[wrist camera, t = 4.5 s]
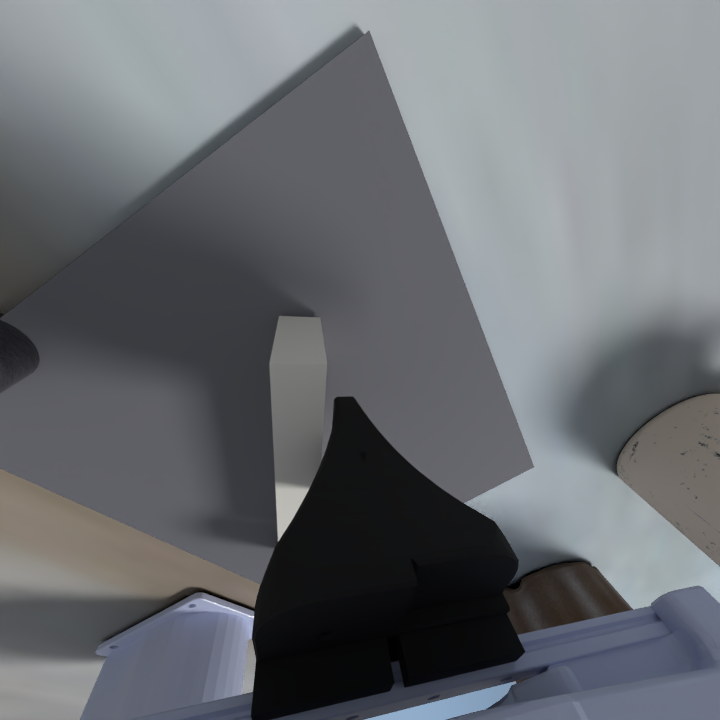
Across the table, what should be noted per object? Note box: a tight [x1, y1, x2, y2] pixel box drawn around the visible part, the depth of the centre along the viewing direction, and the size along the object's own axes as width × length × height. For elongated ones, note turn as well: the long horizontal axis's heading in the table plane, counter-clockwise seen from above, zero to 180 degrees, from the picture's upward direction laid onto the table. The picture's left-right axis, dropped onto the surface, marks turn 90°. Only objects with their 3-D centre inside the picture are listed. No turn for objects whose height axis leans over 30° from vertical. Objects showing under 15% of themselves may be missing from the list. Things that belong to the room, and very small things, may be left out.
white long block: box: [269, 316, 327, 541], centre depth 12 cm, size 13×2×4 cm, turn 173°
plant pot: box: [502, 562, 633, 683], centre depth 24 cm, size 16×16×16 cm
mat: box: [0, 31, 534, 584], centre depth 14 cm, size 20×22×1 cm
